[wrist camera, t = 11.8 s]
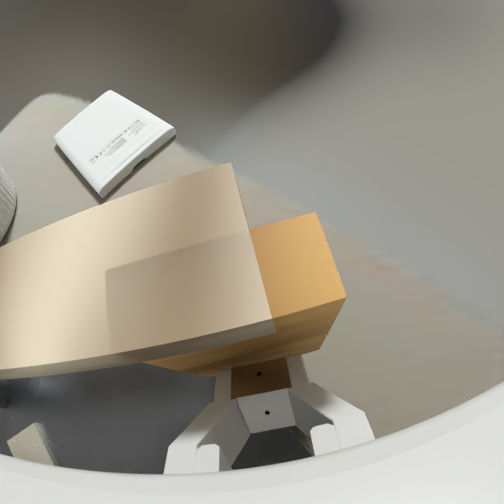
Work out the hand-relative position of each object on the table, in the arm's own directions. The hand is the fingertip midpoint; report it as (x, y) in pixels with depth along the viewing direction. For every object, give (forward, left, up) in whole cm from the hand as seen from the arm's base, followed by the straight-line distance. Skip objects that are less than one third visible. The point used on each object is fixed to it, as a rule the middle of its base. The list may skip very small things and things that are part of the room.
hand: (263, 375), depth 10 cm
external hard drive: (0, +25, -7) cm, 26 cm away
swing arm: (-6, +6, -3) cm, 9 cm away
